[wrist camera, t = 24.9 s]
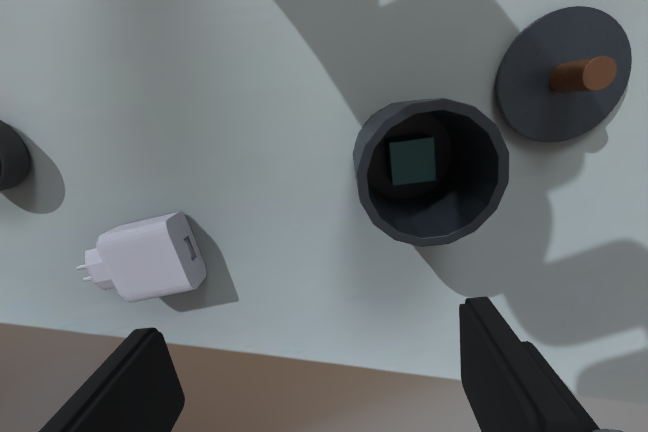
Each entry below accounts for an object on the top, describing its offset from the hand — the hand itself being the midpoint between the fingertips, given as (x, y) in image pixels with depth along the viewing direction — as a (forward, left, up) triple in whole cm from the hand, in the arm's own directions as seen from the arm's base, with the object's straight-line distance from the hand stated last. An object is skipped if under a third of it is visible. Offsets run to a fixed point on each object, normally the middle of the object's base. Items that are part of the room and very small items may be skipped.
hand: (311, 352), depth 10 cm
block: (-4, +7, -30) cm, 31 cm away
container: (-4, +7, -30) cm, 31 cm away
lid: (-16, +19, -30) cm, 39 cm away
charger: (+18, -21, -31) cm, 41 cm away
